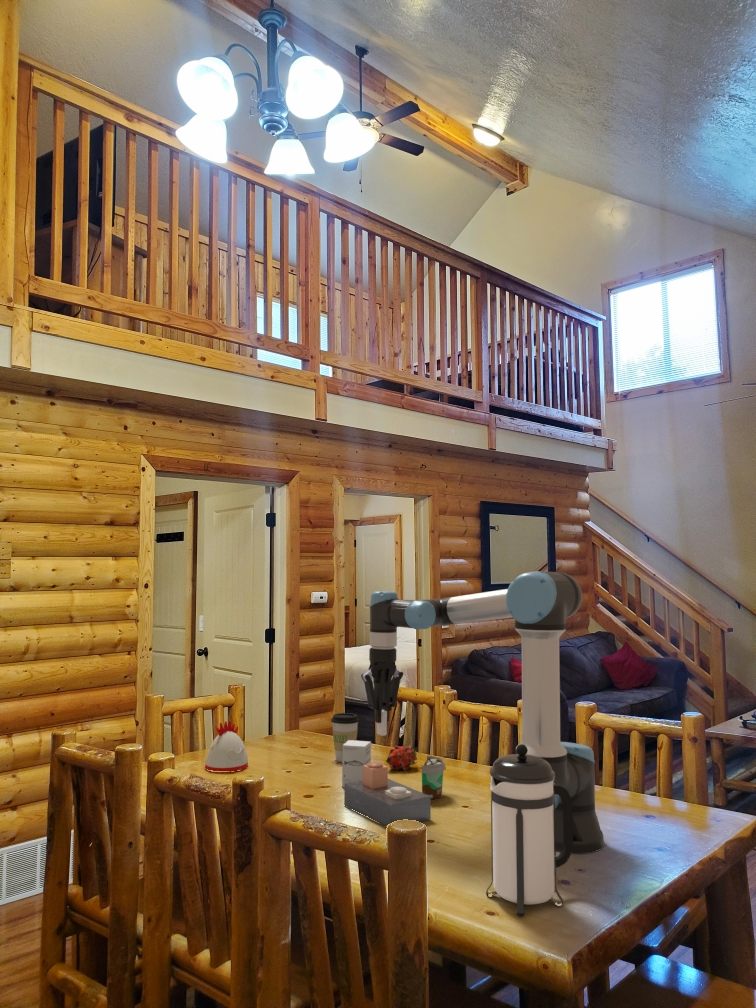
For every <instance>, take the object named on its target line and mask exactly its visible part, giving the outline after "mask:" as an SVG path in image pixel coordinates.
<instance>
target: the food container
mask: <svg viewBox="0 0 756 1008" xmlns="http://www.w3.org/2000/svg"><path fill="white" fill-rule="evenodd" d="M444 761H445V760H444V759H442V758H441V757H437V756H434V755H433V756H432V755H427V756H426V761H425V762H424V765H423V764H422V765H421V792H422V793H424V794H426V795H429V796H430V799H431V802H432V801H438V800H440V799H441V798H442V796H443V784H444V783H443V781H444V780H443V779H444V771H445V770H446V763H445V762H444Z"/></svg>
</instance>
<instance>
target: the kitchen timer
mask: <svg viewBox="0 0 756 1008" xmlns="http://www.w3.org/2000/svg"><path fill="white" fill-rule="evenodd" d="M235 726H236V724H235V723H232V721H231V720H228V722H227V721H224V724H223V723H222V722H220V723H219V728H218V727H217V726H216V727H215V731H216V732H217V735H216V737H215V738H214V739H213V741H212V742H211V744H210V746H209V749H208V752H207V756H206V759H205V766H204V769H205V768H206V769H208V770H213V771H237V770H242V771H244V770H243V769H245V770H246V769H248V768H249V759H248V753H247V750H246V746H245V744H244V742H243V740H242V739H241V737H240V736H239V735H238V734H237V733H238V731H239V726H236V727H235ZM247 767H248V768H247ZM206 769H205V770H206Z"/></svg>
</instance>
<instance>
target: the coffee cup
mask: <svg viewBox="0 0 756 1008" xmlns="http://www.w3.org/2000/svg"><path fill="white" fill-rule="evenodd" d="M330 722H331V724H332V735H333V736H332V737H333V747H334V754H335V755H334V756H335V760H336V762H340V763H343V745H344V744H345V743H346V742H347V741H348V740H354V741H357V737H358V724H359V723H360V719H359V717H358V714H357V713H351V712H350V713H349V712H343V713H342V712H341V713H339V712H338V713H335V714H333V716H332V717H331V720H330Z"/></svg>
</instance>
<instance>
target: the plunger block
mask: <svg viewBox="0 0 756 1008" xmlns="http://www.w3.org/2000/svg"><path fill="white" fill-rule="evenodd" d="M392 787H404V788H406V789H407V791H410V792H411V796H410V797H405V798H401V799H393V798H391V797H389V796H387V795H385V790H390V788H392ZM343 788H344V795H343V796H344V797H343V799H344V800H343V802H344V805H345V806H347V807H349V808H351V809H353V810H355V811H357V812H359V813H361V814H363V815H365V816H368V817H369V818H371V819H373V820H375V821H377V822H379V823H380V824H381V825H380V824H379V825H380V826H382V825H383V826H382V827H384V826H385V828H386V826H387V825H388V824H390V823H392V822H394V821H397V820H403V819H408V820H416V821H419V823H424V822H427V821H431V818H432V817H431V816H432V815H431V813H432V811H431V802H432V801H431V799H430V796H429V795H426V794H424V793H422V791H420V790H417V789H414V788H412V787H409V786H407V785H405V784H402V783H399V782H397V781H395V780H393V779H389V778H388V786H385V787H380V788H375V789H371V788H369V787H367V786H364V785H362V781H357V782H351V783H346V784H345V786H344V787H343ZM344 805H343V806H344ZM345 806H344V807H345ZM347 807H346V808H347ZM349 808H348V809H349ZM351 809H350V810H351ZM353 810H352V811H353ZM355 811H354V812H355ZM357 812H356V813H357ZM359 813H358V814H359ZM361 814H360V815H361ZM363 815H362V816H363ZM365 816H364V817H365ZM369 818H368V819H369Z"/></svg>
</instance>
